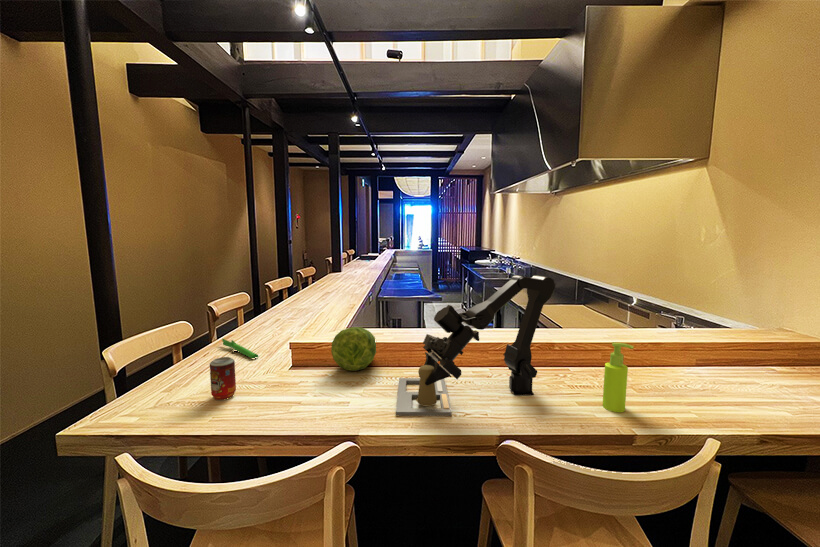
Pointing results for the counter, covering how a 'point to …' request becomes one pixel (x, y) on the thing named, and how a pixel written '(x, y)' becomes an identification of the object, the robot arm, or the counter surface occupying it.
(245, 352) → the green onion
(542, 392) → the counter surface
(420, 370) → the cork
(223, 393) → the soda can
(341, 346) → the lettuce
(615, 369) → the soap dispenser
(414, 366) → the counter surface
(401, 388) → the panel
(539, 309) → the robot arm
